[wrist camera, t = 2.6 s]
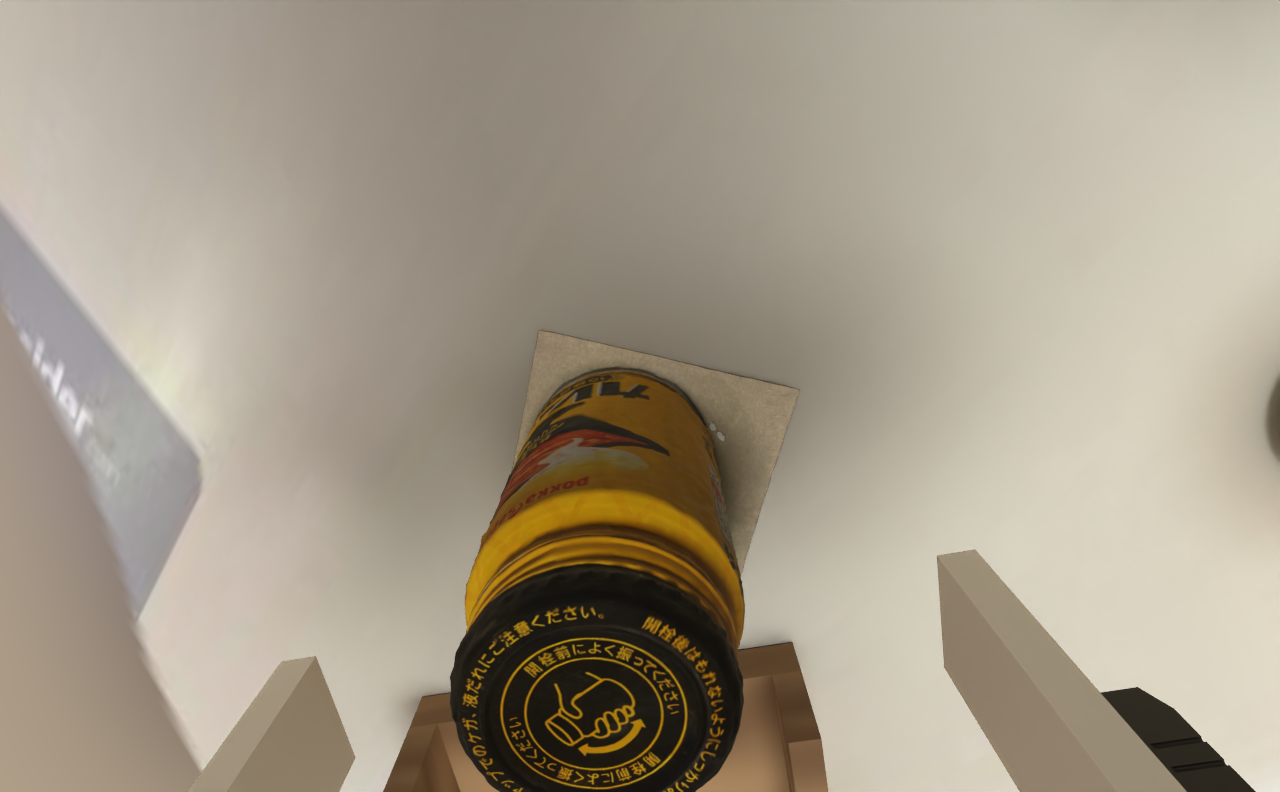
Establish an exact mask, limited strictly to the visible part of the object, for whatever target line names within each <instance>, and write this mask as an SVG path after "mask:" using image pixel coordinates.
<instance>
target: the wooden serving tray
mask: <svg viewBox="0 0 1280 792" xmlns="http://www.w3.org/2000/svg"><path fill="white" fill-rule="evenodd" d="M738 663H739V666H738V667H739V669H740V671H741V674H742V676H743V695H744V705H743V710H742V716H741V722H740V727H739V731H738V733H737V736H736V739H735V742H734V745H733V748H732V750H731V752H730V754H729V755H728V757H727V759H726V761H725V762H724V764H723V766H722V768H721V769H720V771H719V772H718V774H716V775H715V776H714V777H713V778H712V779H711V780H710V781H708V782H707V783H706V784H705V785H704V786H702V787H701V788H699V789H698V790H697V791H696V792H828V787H827V779H826V772H825V764H824V756H823V749H822V741H821V737H820V733H819V730H818V726H817V723H816V720H815V716H814V713H813V710H812V706H811V703H810V700H809V696H808V693H807V690H806V686H805V683H804V679H803V676H802V673H801V669H800V666H799V663H798V659H797V656H796V653H795V649H794V646H793V643H785V644H779V645H772V646H765V647H758V648H752V649H745V650H738ZM450 694H451V693H448V694H441V695H434V696H427V697H422V699H421V702H420V704H419V707H418V709H417V711H416V714H415V716H414V719H413V721H412V723H411V726H410V728H409V731H408V733H407V736H406V738H405V740H404V743H403V745H402V748H401V750H400V752H399V755H398V757H397V760H396V762H395V765H394V767H393V769H392V772H391V774H390V777H389V779H388V782H387V784H386V786H385V789H384V791H383V792H500V791H498V790H496V789H495V788H493V787H492V786H491V785H490V784H489V783H488V782H487V781H486V779H485V777H484V776H483V774H481V773H480V772H479V771H478V769H477V768H476V767H475V765H474V764H473V762H472V761H471V759H470V758H469V757H468V756H467V755H466V753H465V751H464V749H463V747H462V745H461V743H460V741H459V738H458V734H457V729H456V724H455V722H454V720H453V718H452V713H451V706H450Z"/></svg>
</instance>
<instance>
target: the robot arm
mask: <svg viewBox="0 0 1280 792" xmlns="http://www.w3.org/2000/svg"><path fill="white" fill-rule="evenodd" d="M937 564H938V579H939V595H940V610H941V625H942V640H943V655H944V668H945V669H946V671H947V673H948V674H949V676H950V678H951V679H952V681H953V683H954V684H955V686H956V687H957V689H958V691H959V692H960V694H961V696H962V697H963V699H964V701H965V702H966V704H967V706H968V707H969V709H970V710H971V712H972V714H973V715H974V717H975V719H976V720H977V722H978V724H979V725H980V727H981V729H982V730H983V732H984V734H985V735H986V737H987V738H988V740H989V742H990V743H991V745H992V747H993V748H994V750H995V752H996V753H997V755H998V757H999V758H1000V760H1001V761H1002V763H1003V765H1004V766H1005V768H1006V770H1007V771H1008V773H1009V775H1010V776H1011V778H1012V780H1013V781H1014V783H1015V785H1016V786H1017V788H1018V789H1019V791H1020V792H1255V791H1254V790H1253V789H1252V788H1251V787H1250V786H1249V785H1248V784H1247V783H1246V782H1245V781H1244V779H1243V778H1242V777H1241V776H1240V775H1239V774H1238V773H1237V772H1236V771H1235V770H1234V769H1233V768H1232V767H1231V766H1230V765H1228V766H1227V765H1226V764H1225V762H1224V759H1223V758H1222V757H1221V756H1220V755H1219V754H1218V753H1217V752H1216V751H1215V750H1214V749H1213V748H1212V747H1211V746H1210V745H1209V744H1208V743H1207V742H1203V741H1202V739H1201V736H1200V735H1199V734H1198V733H1197V732H1196V731H1195V730H1194V729H1193V728H1192V727H1191V726H1190V725H1189V724H1188V723H1187V722H1186V721H1185V720H1184V719H1183V718H1182V716H1181V715H1180V714H1179V713H1178V712H1177V711H1176V710H1175V709H1173V708H1172V707H1170V706H1168V705H1167V704H1165V703H1163V702H1162V701H1160V700H1158V699H1157V698H1155V697H1153V696H1151V695H1150V694H1148V693H1146V692H1145V691H1143V690H1141V689H1140V688H1138V687H1136V688H1129V689H1122V690H1116V691H1109V692H1102V693H1100V692H1099V691H1098V690H1097V688H1096V687H1095V686H1094V685H1093V684H1092V683H1091V682H1090V680H1089V679H1088V678H1087V677H1086V676H1085V675H1084V674H1083V672H1082V671H1081V670H1080V669H1079V668H1078V667H1077V666H1076V664H1075V663H1074V662H1073V661H1072V660H1071V659H1070V658H1069V656H1068V655H1067V654H1066V653H1065V652H1064V651H1063V650H1062V648H1061V647H1060V646H1059V645H1058V644H1057V643H1056V641H1055V640H1054V639H1053V638H1052V637H1051V636H1050V635H1049V633H1048V632H1047V631H1046V630H1045V629H1044V628H1043V627H1042V625H1041V624H1040V623H1039V622H1038V621H1037V620H1036V619H1035V617H1034V616H1033V615H1032V614H1031V613H1030V612H1029V611H1028V609H1027V608H1026V607H1025V606H1024V605H1023V604H1022V603H1021V601H1020V600H1019V599H1018V598H1017V597H1016V596H1015V595H1014V593H1013V592H1012V591H1011V590H1010V589H1009V588H1008V587H1007V585H1006V584H1005V583H1004V582H1003V581H1002V580H1001V579H1000V577H999V576H998V575H997V574H996V573H995V572H994V571H993V569H992V568H991V567H990V566H989V565H988V564H987V563H986V561H985V560H984V559H983V558H982V557H981V556H980V555H979V553H978V552H977V551H976V550H970V551H963V552H957V553H951V554H945V555H939V556H937ZM354 759H355V755H354V753H353V750H352V748H351V745H350V742H349V740H348V737H347V735H346V732H345V730H344V727H343V724H342V722H341V719H340V717H339V714H338V712H337V709H336V707H335V704H334V701H333V699H332V696H331V694H330V691H329V689H328V686H327V684H326V681H325V678H324V676H323V673H322V671H321V668H320V666H319V663H318V661H317V658H316V656H314V657H308V658H302V659H295V660H289V661H283V662H281V663H280V664H279V666H278V667H277V669H276V670H275V671H274V673H273V674H272V676H271V677H270V678H269V680H268V681H267V682H266V684H265V685H264V687H263V688H262V689H261V691H260V692H259V694H258V695H257V696H256V698H255V699H254V701H253V702H252V703H251V705H250V706H249V707H248V709H247V710H246V712H245V713H244V714H243V716H242V717H241V719H240V720H239V721H238V723H237V724H236V726H235V727H234V728H233V730H232V731H231V732H230V734H229V735H228V737H227V738H226V739H225V741H224V742H223V744H222V745H221V746H220V748H219V749H218V750H217V752H216V753H215V755H214V756H213V757H212V759H211V760H210V762H209V763H208V764H207V766H206V767H205V769H204V770H203V771H202V773H201V774H200V775H199V777H198V778H197V780H196V781H195V782H194V784H193V785H192V787H191V788H190V789H189V791H188V792H339V791H340V789H341V786H342V784H343V782H344V780H345V778H346V776H347V774H348V772H349V770H350V768H351V766H352V763H353V761H354Z"/></svg>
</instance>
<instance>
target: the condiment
mask: <svg viewBox="0 0 1280 792" xmlns="http://www.w3.org/2000/svg"><path fill="white" fill-rule="evenodd" d="M798 394H799V389H794V388H790V387H786V386H780V385H776V384H771V383H767V382H764V381H760V380H756V379H751V378H745V377H740V376H736V375H733V374H728V373H723V372H720V371H716V370H710V369H705V368H702V367H699V366H694V365H689V364H686V363H682V362H678V361H674V360H670V359H666V358H662V357H658V356H653V355H649V354H644V353H640V352H635V351H631V350H627V349H623V348H618V347H613V346H609V345H605V344H601V343H597V342H592V341H587V340H582V339H578V338H575V337H570V336H566V335H561V334H556V333H551V332H545V331H539V333H538V338H537V344H536V349H535V354H534V359H533V364H532V370H531V375H530V380H529V386H528V391H527V396H526V402H525V407H524V412H523V417H522V422H521V428H520V433H519V438H518V443H517V448H516V453H515V458H514V464H513V469H512V471H511V474H510V476H509V478H508V481H507V483H506V486H505V488H504V490H503V493H502V495H501V499H500V502H499V505H498V507H497V509H496V512H495V515H494V516H493V519H492V521H491V522H490V526H489V528H488V530H487V532H486V533H485V534H484V535H483V536H482V539H481V545H480V549H479V552H478V555H477V557H476V559H475V563H474V565H473V568H472V571H471V574H470V577H469V580H468V583H467V585H466V596H465V610H466V622H467V631H466V635H465V637H464V638H463V640H462V641H461V643H460V646H459V648H458V650H457V652H456V655H455V663H454V668H453V670H452V673H451V676H450V680H451V694H450V706H451V713H452V718H453V720H454V722H455V724H456V729H457V734H458V738H459V741H460V743H461V745H462V747H463V749H464V751H465V753H466V755H467V756H468V757H469V758H470V759H471V761H472V762H473V764H474V765H475V767H476V768H477V769H478V771H479V772H480V773H481V774H483V776H484V777H485V779H486V781H487V782H488V783H489V784H490V785H491V786H492V787H493V788H495V789H496V790H498V791H500V792H696V791H697V790H698V789H699V788H701V787H702V786H704V785H705V784H706V783H707V782H708V781H710V780H711V779H712V778H713V777H714V776H715V775H716V774H718V772H719V771H720V769H721V768H722V766H723V764H724V762H725V761H726V759H727V757H728V755H729V754H730V752H731V750H732V748H733V745H734V742H735V739H736V736H737V733H738V731H739V727H740V722H741V716H742V710H743V705H744V695H743V676H742V674H741V671H740V669H739V667H738V666H739V663H738V647H739V645H740V640H741V637H742V633H743V626H744V613H745V604H744V596H743V588H742V581H741V573H742V571H743V567H744V563H745V559H746V555H747V552H748V549H749V546H750V543H751V539H752V536H753V533H754V530H755V527H756V523H757V520H758V517H759V513H760V510H761V506H762V503H763V501H764V498H765V495H766V492H767V488H768V485H769V482H770V479H771V472H772V470H773V469H774V466H775V463H776V461H777V458H778V454H779V452H780V449H781V446H782V443H783V439H784V436H785V432H786V429H787V426H788V423H789V421H790V418H791V415H792V412H793V409H794V406H795V403H796V400H797V397H798ZM711 423H714V425H715V427H716V428H717V429H716V431H712V430H711V429H710V427H709V425H710V424H711ZM717 432H721V433H722V434H723V435H724V436H725V440H724V441H723V442H722V441H721V440H720V439H719V438H718V437H717Z"/></svg>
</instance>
